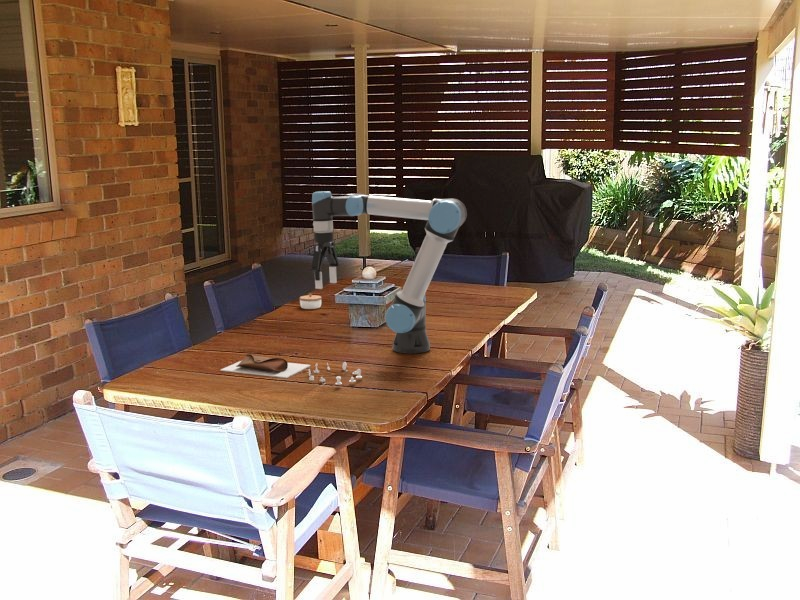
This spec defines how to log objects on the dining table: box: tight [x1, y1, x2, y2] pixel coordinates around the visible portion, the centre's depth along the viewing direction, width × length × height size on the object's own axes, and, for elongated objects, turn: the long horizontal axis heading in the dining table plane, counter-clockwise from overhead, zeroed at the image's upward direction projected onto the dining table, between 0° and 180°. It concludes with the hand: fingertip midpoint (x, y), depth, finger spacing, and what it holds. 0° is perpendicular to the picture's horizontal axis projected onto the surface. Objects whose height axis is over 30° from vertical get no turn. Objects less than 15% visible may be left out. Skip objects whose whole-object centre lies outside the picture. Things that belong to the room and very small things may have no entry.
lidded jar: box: [299, 293, 322, 310], centre depth 414 cm, size 11×11×9 cm
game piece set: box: [307, 361, 363, 385], centre depth 302 cm, size 19×20×4 cm
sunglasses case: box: [236, 353, 289, 371], centre depth 310 cm, size 18×7×7 cm
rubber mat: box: [220, 360, 312, 379], centre depth 313 cm, size 28×18×1 cm, turn 68°
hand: (326, 285), depth 329 cm, fingers open, 13 cm apart
